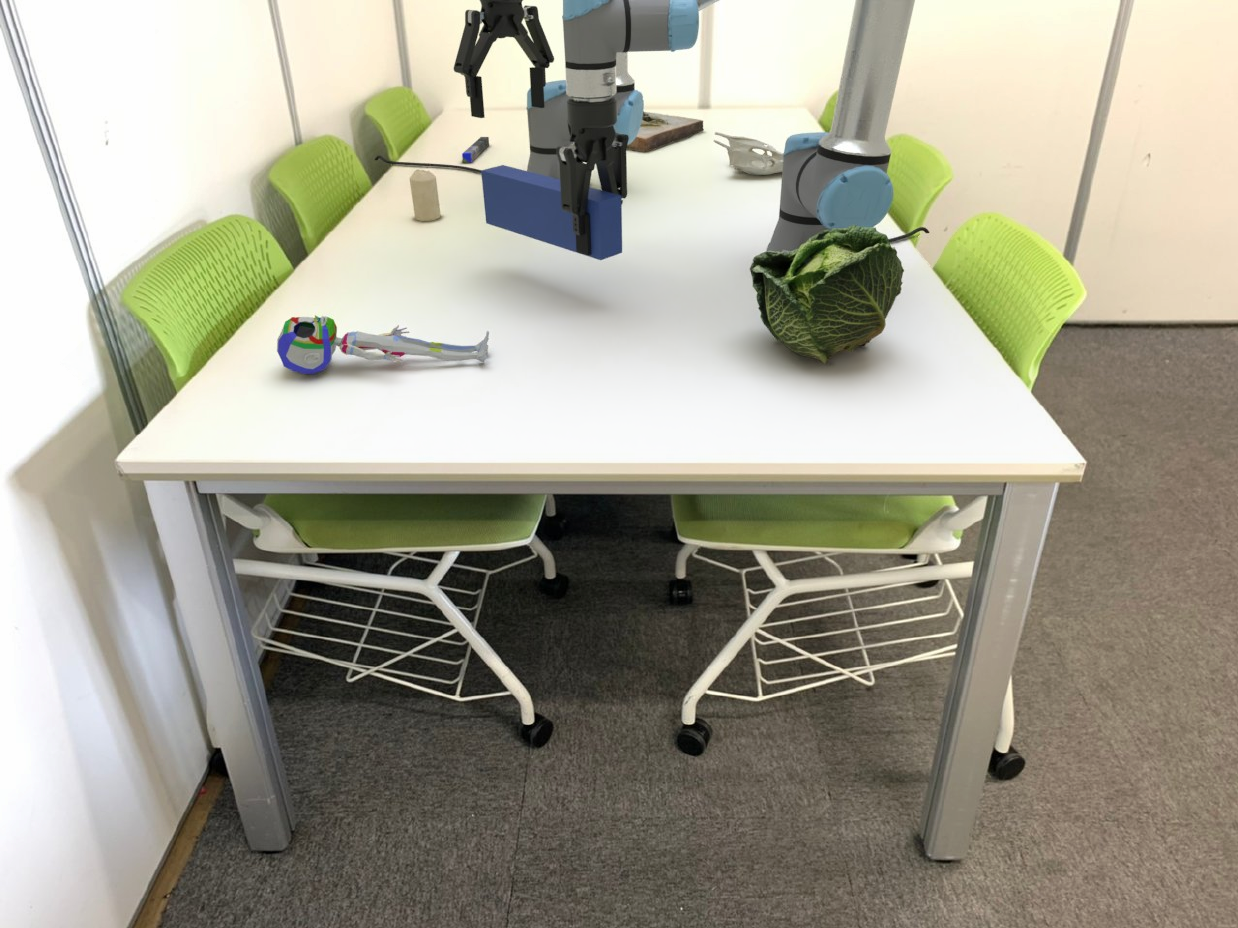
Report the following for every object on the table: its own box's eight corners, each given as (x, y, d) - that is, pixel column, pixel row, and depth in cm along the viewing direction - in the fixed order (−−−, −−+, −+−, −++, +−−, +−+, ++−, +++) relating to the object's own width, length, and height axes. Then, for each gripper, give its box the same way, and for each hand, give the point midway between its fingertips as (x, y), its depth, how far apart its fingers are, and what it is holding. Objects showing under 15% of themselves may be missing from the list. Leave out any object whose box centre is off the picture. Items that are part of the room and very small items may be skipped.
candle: (445, 214, 196) (439, 168, 191) (432, 222, 192) (426, 174, 186) (423, 212, 198) (416, 166, 192) (410, 220, 193) (403, 172, 188)
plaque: (647, 125, 237) (559, 112, 252) (647, 153, 241) (560, 139, 256) (706, 107, 258) (622, 97, 273) (705, 133, 262) (622, 121, 277)
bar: (486, 223, 160) (480, 170, 155) (507, 217, 163) (502, 165, 158) (600, 260, 143) (599, 202, 138) (622, 252, 146) (621, 195, 141)
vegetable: (780, 374, 144) (722, 268, 136) (876, 307, 145) (825, 198, 137) (841, 402, 125) (779, 281, 118) (951, 325, 127) (897, 200, 119)
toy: (488, 343, 128) (268, 326, 123) (485, 396, 132) (272, 381, 127) (490, 315, 136) (284, 298, 132) (486, 366, 141) (287, 351, 136)
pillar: (488, 137, 250) (469, 154, 234) (489, 145, 251) (470, 162, 235) (480, 137, 251) (461, 154, 234) (481, 145, 252) (462, 162, 235)
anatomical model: (715, 128, 226) (816, 127, 222) (715, 166, 231) (813, 165, 227) (712, 142, 213) (818, 141, 210) (711, 181, 218) (815, 181, 215)
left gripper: (451, -22, 137) (464, 124, 148) (571, -27, 153) (575, 105, 163) (423, -23, 142) (437, 118, 153) (542, -28, 157) (547, 101, 168)
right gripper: (564, 109, 126) (571, 268, 139) (650, 91, 137) (650, 240, 149) (529, 103, 131) (539, 257, 143) (615, 86, 141) (618, 231, 154)
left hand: (508, 112), depth 158 cm, fingers open, 13 cm apart
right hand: (596, 248), depth 146 cm, fingers closed on bar, 5 cm apart
